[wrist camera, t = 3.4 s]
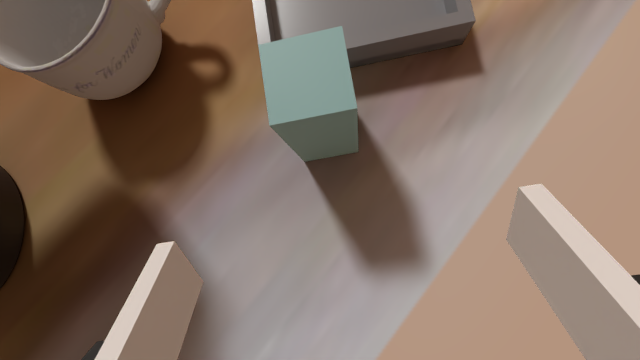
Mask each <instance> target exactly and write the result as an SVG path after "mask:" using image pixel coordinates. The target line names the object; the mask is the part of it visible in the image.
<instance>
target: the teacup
mask: <svg viewBox="0 0 640 360" xmlns="http://www.w3.org/2000/svg"><path fill="white" fill-rule="evenodd" d="M170 1H171V0H151V1H149V2H148V1H147V0H0V64H1V65H3V66H5V67H7V68H9V69H11V70H14V71H17V72H22V73H24V74H26V75H28V76H31V77H33V78H35V79H37V80H39V81H42V82H44V83H46V84H48V85H50V86H53V87H55V88H57V89H60V90H62V91H65V92H67V93H70V94H73V95H75V96H79V97H82V98H87V99H92V100H108V99H114V98H117V97H121V96H123V95H126V94H128V93H130V92H131V91H133V90H134V89H136V88H137V87H139V86H140V85H141V84H142V83H143V82H145V81H146V80H147V78H148V77H149V76H150V75H151V73H152V72H153V70H154V68H155V66H156V64H157V62H158V59H159V56H160V53H161V47H162V33H161V28H160V24H161V23H162V22H163V21H164V19H165V10H166V9H167V7H168V5H169V3H170Z"/></svg>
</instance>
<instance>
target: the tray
mask: <svg viewBox="0 0 640 360" xmlns="http://www.w3.org/2000/svg"><path fill="white" fill-rule="evenodd" d="M252 2H253V10H254V17H255V24H256V31H257V39H258V45H260V44H264V43H269V42H273V41H277V40H282V39H286V38H291V37H295V36H299V35H304V34H308V33H312V32H317V31H321V30H326V29H330V28H334V27H339V26H342V28H343V33H344V39H345V44H346V50H347V55H348V61H349V66H350V68H352V67H357V66H361V65H366V64H371V63H376V62H380V61H385V60H390V59H394V58H399V57H404V56H409V55H413V54H418V53H423V52H427V51H432V50H437V49H441V48H446V47H451V46H456V45H460V44H462V43H463V42H464V40H465V38H466V36H467V35H468V33H469V31H470V29H471V28H472V26H473V24H474V23H475V21H476V20H475V16H474V12H473V9H472V5H471V1H470V0H252Z"/></svg>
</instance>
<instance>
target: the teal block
mask: <svg viewBox="0 0 640 360" xmlns="http://www.w3.org/2000/svg"><path fill="white" fill-rule="evenodd" d="M258 46H259V53H260V60H261V67H262V75H263V82H264V89H265V96H266V104H267V111H268V118H269V125H270V127H271V128H272V129H273V130H274V131H275V132H276V133H277V134H278V135H279V136H280V137H281V138H282V139H283V140H284V141H285V142H286V143H287V144H288V145H289V146H290V147H291V148H292V149H293V150H294V151H295V152H296V153H297V155H298V156H299V157H300V158H301V159H302V160H303V161H304V162H306V161H312V160H317V159H323V158H328V157H334V156H339V155H345V154H350V153H355V152H358V117H357V104H356V99H355V93H354V88H353V82H352V77H351V71H350V66H349V61H348V55H347V50H346V44H345V39H344V33H343V28H342V26H339V27H334V28H330V29H326V30H321V31H317V32H312V33H308V34H304V35H299V36H295V37H291V38H286V39H282V40H277V41H273V42H269V43H264V44H260V45H258Z"/></svg>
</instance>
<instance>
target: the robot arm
mask: <svg viewBox="0 0 640 360" xmlns="http://www.w3.org/2000/svg"><path fill="white" fill-rule="evenodd" d="M23 231H24V214H23V206H22V202H21V198H20V195H19V192H18V190H17V187H16V185H15V183H14V182H13V180H12V179H11V177H10V176H9V174H8V173H7V172H6V171H5V170H4V169H3V168H2V167H1V166H0V288H1V286H2V285H3V284H4V282H5V281H6V279H7V278H8V276H9V275H10V273H11V271H12V269H13V267H14V265H15V262H16V260H17V257H18V255H19V251H20V248H21V244H22V239H23ZM506 240H507V241H508V243H509V244H510V246H511V247H512V249H513V250H514V252H515V253H516V255H517V256H518V258H519V259H520V261H521V262H522V264H523V265H524V267H525V268H526V270H527V271H528V273H529V274H530V276H531V277H532V279H533V281H534V282H535V284H536V285H537V287H538V288H539V290H540V291H541V293H542V294H543V296H544V297H545V298H546V300H547V302H548V303H549V305H550V306H551V308H552V309H553V311H554V312H555V314H556V315H557V317H558V318H559V320H560V321H561V323H562V324H563V326H564V327H565V329H566V330H567V332H568V333H569V335H570V336H571V338H572V339H573V341H574V342H575V344H576V345H577V347H578V348H579V350H580V351H581V353H582V354H583V356H584V357H585V359H586V360H640V275H632V276H631V275H629V273H628V272H627V271H626V270H625V269H624V268H623V267H622V266H621V265H620V264H619V263H618V262H617V261H616V260H615V259H614V258H613V257H612V256H611V255H610V254H609V253H608V252H607V251H606V250H605V249H604V248H603V247H602V246H601V245H600V244H599V243H598V241H597V240H595V238H594V237H593V236H592V235H591V234H590V233H589V232H588V231H587V230H586V229H585V228H584V227H583V226H582V225H581V224H580V223H579V222H578V221H577V220H576V219H575V218H574V217H573V216H572V215H571V214H570V213H569V212H568V211H567V210H566V209H565V208H564V207H563V206H562V204H561V203H560V202H559V201H558V200H557V199H556V198H555V197H554V196H553V195H552V194H551V193H550V192H549V191H548V190H547V189H546V188H545V187H544V186H543V185H542V184H536V185H530V186H524V187H518V192H517V196H516V200H515V204H514V209H513V213H512V217H511V222H510V226H509V230H508V234H507V239H506ZM202 285H203V280H202V279H201V278H200V276H199V275H198V273H197V272H196V271H195V269H194V268H193V266H192V265H191V264H190V262H189V261H188V259H187V258H186V256H185V255H184V254H183V252H182V251H181V249H180V248H179V247H178V245H177V244H176V242H175V241H172V242H165V243H159V244H156V246H155V248H154V250H153V252H152V254H151V256H150V257H149V259H148V261H147V263H146V265H145V267H144V269H143V270H142V272H141V274H140V276H139V278H138V280H137V282H136V283H135V285H134V287H133V289H132V291H131V293H130V295H129V296H128V298H127V300H126V302H125V304H124V306H123V308H122V309H121V311H120V313H119V315H118V317H117V319H116V321H115V323H114V324H113V326H112V328H111V330H110V332H109V334H108V336H107V337H106V339H105V341H98V342H96V343H95V345H94V346H93V347H92V348H91V349H90V350H89V351H88V353H87V354H86V355H85V356H84V357H83V358H82V360H177V359H178V356H179V353H180V350H181V347H182V344H183V341H184V338H185V335H186V332H187V329H188V326H189V323H190V320H191V317H192V314H193V311H194V308H195V305H196V302H197V299H198V296H199V293H200V290H201V287H202Z"/></svg>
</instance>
